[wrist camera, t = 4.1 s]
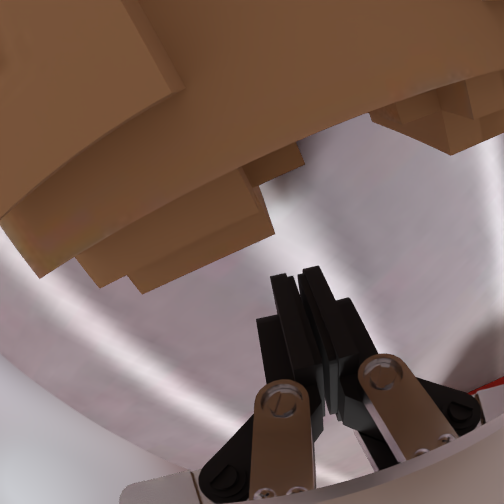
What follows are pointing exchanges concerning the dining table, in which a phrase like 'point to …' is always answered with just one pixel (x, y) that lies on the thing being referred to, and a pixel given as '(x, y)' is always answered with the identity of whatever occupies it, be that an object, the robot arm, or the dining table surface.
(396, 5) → the voxel meat on bone
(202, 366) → the dining table surface
